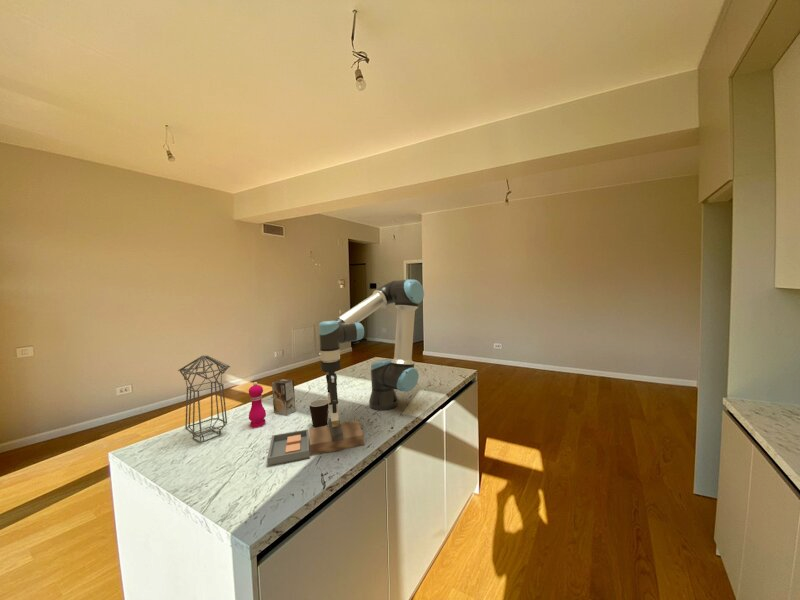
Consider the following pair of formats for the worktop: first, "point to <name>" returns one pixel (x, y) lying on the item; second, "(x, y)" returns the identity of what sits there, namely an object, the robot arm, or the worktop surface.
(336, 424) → the scraper
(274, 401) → the coffee box
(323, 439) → the brown flat wooden block
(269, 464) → the tray
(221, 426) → the geometric lantern
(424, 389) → the worktop surface
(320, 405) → the coffee mug
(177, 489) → the worktop surface
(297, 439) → the tile
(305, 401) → the worktop surface
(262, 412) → the pepper mill
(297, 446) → the tile
